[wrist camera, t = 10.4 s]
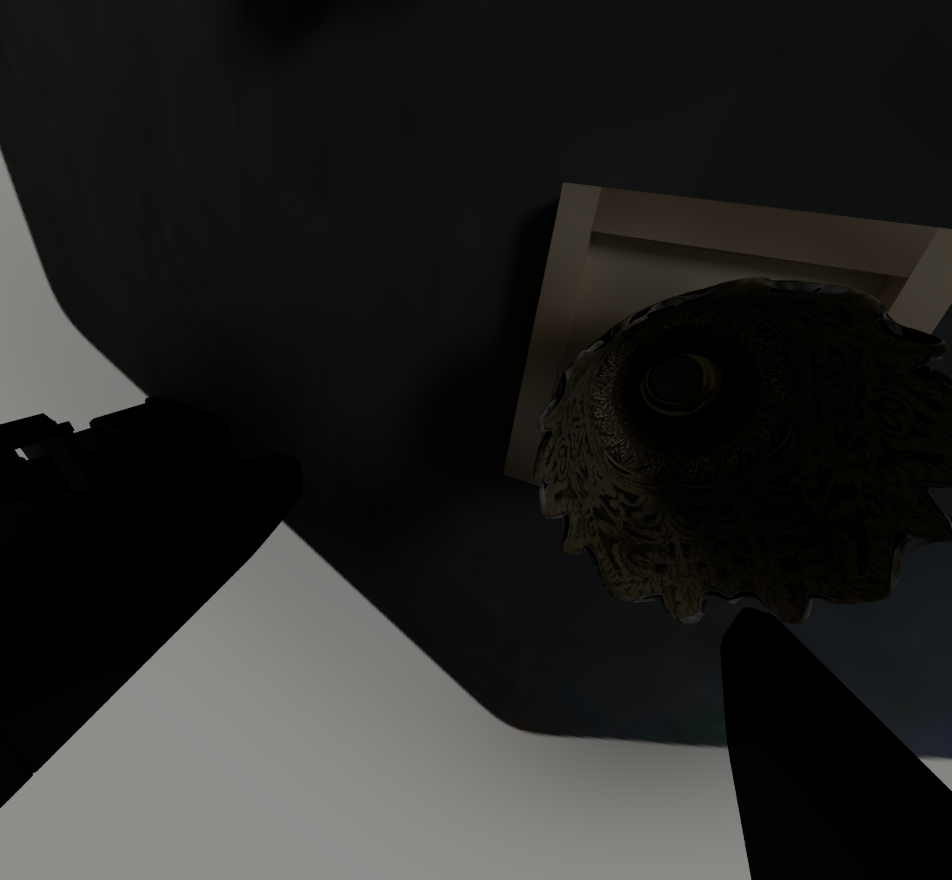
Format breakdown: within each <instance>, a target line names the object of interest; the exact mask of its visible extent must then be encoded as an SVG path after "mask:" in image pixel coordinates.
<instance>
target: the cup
mask: <svg viewBox="0 0 952 880" xmlns="http://www.w3.org/2000/svg"><path fill="white" fill-rule="evenodd" d="M888 311H889V307H888V306H887V305H885V304H884V303H883V302H881V301H880V300H878V299H877V298H875V297H874V296H872V295H870V294H868V293H866V292H864V291H861V290H859V289H856V288H851V287H846V286H840V285H834V284H826V283H817V282H807V281H798V280H771V279H770V278H768V277H751V278H743V279H737V280H732V281H727V282H722V283H719V284H717V285H714V286H710V287H707V288H704V289H699V290H695V291H691V292H687V293H684V294H681V295H678V296H674V297H671V298H668V299H665V300H662V301H660V302H658V303H655V304H653V305H651V306H648V307H646V308H644V309H640V310H638V311H636V312H635V313H633V314H631V315H630V316H628V317H626V318H625V319H623V320H622V321H620V322H619V323H617V324H616V325H615V326H613V327H612V328H610V329H609V330H608V331H607V332H606V333H605V334H603V335H602V336H601V337H600V338H599V339H597V340H596V341H595V342H593V343H592V344H591V345H589V346H588V347H587V348H586V349H584V350H583V351H582V352H581V353H580V354H579V355H577V356H576V357H575V358H574V359H573V360H572V362H571V363H570V364H569V365H568V366H567V367H566V369H565V370H564V372H563V373H562V375H561V378H560V380H559V383H558V387H557V389H556V392H555V394H554V396H553V398H552V399H551V400H550V402H549V403H548V404H547V405H546V406H545V408H544V410H543V411H542V413H541V415H540V417H539V419H538V425H537V427H538V430H539V431H542V433H543V431H545V432H544V435H543V437H542V438H541V440H540V442H539V444H538V449H537V457H536V461H535V465H534V470H533V479H534V481H535V483H536V484H537V483H538V485H539V484H541V486H540V489H539V508H540V512H541V514H542V516H543V517H545V518H562V517H563V518H564V519H563V525H564V530H563V536H562V551H563V552H564V553H566V554H567V555H569V556H571V557H572V556H574V555H575V556H582V555H584V553H585V552H586V554H587V555H588V556H589V557H590V558H591V560H592V563H593V565H594V569H595V572H596V574H597V576H598V578H599V579H600V581H601V583H602V584H603V586H604V587H605V588H606V590H607V591H608V592H609V593H610V595H611V596H612V597H613V598H614V599H616V600H619V601H624V602H633V603H635V602H645V601H650V600H660V601H661V604H662V606H663V608H664V610H665V612H666V613H667V614H668V615H669V616H671V617H672V618H673V619H675V620H676V621H678V622H679V623H681V624H683V625H692V624H694V623H696V622H698V621H699V620H700V618H701V617H702V616H703V615H705V614H706V613H704V612H705V611H706V610H707V609H708V608H707V606H706V605H707V604H708V603H709V602H708V600H710V599H711V598H708V599H706V600H704V601H703V604H702V607H701V602H702V600H703V598H704V597H710V596H712V597H715V596H716V597H719V598H721V599H723V600H725V601H727V602H729V603H732V604H734V603H735V602H737V601H738V600H740V599H746V598H740V597H754V598H757V599H758V600H759V601H760V602H761V603H762V604H763V605H764V606H765V607H766V608H767V610H768V612H769V613H770V614H772V615H773V616H775V617H776V618H777V619H778V620H779V621H780V622H784V623H789V624H794V625H796V624H802V623H803V622H804V621H805V620H806V619H807V618H808V616H809V614H810V611H811V607H812V599H816V600H822V601H826V602H829V603H833V604H838V605H849V604H861V603H868V602H874V601H883V600H886V599H887V598H889V597H891V595H892V594H893V592H894V590H895V589H896V586H897V583H898V580H899V576H900V572H901V568H902V565H903V559H902V555H903V550H904V547H905V545H906V543H907V541H908V542H910V541H911V539H912V538H910V539H907V538H906V536H907V535H910V536H912V537H913V538H915V539H923V540H925V541H926V543H918V544H916V545H915V546H919V545H924V544H925V545H929V544H936V543H940V544H942V543H945V542H952V518H951V517H950V516H949V514H948V513H946V511H945V510H944V509H943V508H942V507H941V506H940V505H939V504H938V503H937V502H936V500H935V499H934V498H933V495H932V494H931V493H930V492H929V490H928V488H931V487H932V488H933V487H934V488H935V487H936V488H952V381H951V379H950V377H948V376H947V375H945V374H943V373H941V372H938V371H936V370H932V369H930V368H929V367H927V366H926V364H929V363H931V361H932V360H934V359H941V358H942V356H943V355H944V354H946V353H947V352H949V345H948V344H947V343H946V342H945V341H943V340H941V339H939V338H937V337H935V336H933V335H930V334H928V333H925V332H922V331H919V330H916V329H913V328H909V327H905V326H903V325H900V324H898V323H896V322H895V321H894V320H893V319H892V318H891V317H890V316H889V315H888V313H887V312H888ZM671 358H686V359H688V360H691V361H692V362H694V363H695V364H696V365H697V367H698V368H699V370H700V374H701V381H700V384H699V387H698V388H697V390H696V391H695V392H694V393H693V394H692V395H691V396H689V397H688V398H686V399H683V400H679V401H668V400H664V399H662V398H660V397H659V396H658V395H657V394H656V393H655V392H654V390H653V388H652V385H651V378H652V374H653V372H654V370H655V369H656V368H657V366H658V365H659V364H661V363H662V362H664V361H666V360H668V359H671ZM926 484H927V485H928V484H929V485H928V486H926ZM925 545H924V546H925ZM583 549H584V550H585V552H584V551H582V550H583ZM738 598H739V599H738ZM701 610H702V613H700V611H701Z"/></svg>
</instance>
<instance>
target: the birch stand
mask: <svg viewBox="0 0 952 880" xmlns="http://www.w3.org/2000/svg"><path fill="white" fill-rule="evenodd" d="M751 277H768V278H770V279H771V280H798V281H807V282H817V283H826V284H834V285H840V286H846V287H851V288H856V289H859V290H861V291H864V292H866V293H868V294H870V295H872V296H874V297H875V298H877V299H878V300H880V301H881V302H883V303H884V304H885V305H887V306H888V307H889V311H888V312H887V313H888V315H889V316H890V317H891V318H892V319H893V320H894V321H895V322H896V323H898V324H900V325H903V326H905V327H909V328H913V329H916V330H919V331H922V332H925V333H928V334H930V335H931V333H932V332H933V330H934V329H935V327H936V326H937V324H938V323H939V321H940V320H941V318H942V317H943V315H944V314H945V312H946V311H947V309H948V308H949V306H950V305H951V303H952V229H944V228H936V227H928V226H919V225H911V224H903V223H895V222H886V221H878V220H870V219H861V218H853V217H845V216H837V215H828V214H820V213H812V212H803V211H795V210H787V209H779V208H770V207H762V206H754V205H745V204H737V203H729V202H721V201H712V200H704V199H696V198H687V197H679V196H671V195H662V194H654V193H646V192H638V191H629V190H621V189H613V188H604V187H596V186H588V185H580V184H571V183H563V187H562V192H561V196H560V201H559V206H558V211H557V216H556V221H555V225H554V230H553V235H552V240H551V245H550V250H549V255H548V259H547V264H546V269H545V274H544V279H543V284H542V288H541V293H540V298H539V303H538V308H537V313H536V317H535V322H534V327H533V332H532V337H531V342H530V346H529V351H528V356H527V361H526V366H525V371H524V375H523V380H522V385H521V390H520V395H519V400H518V405H517V409H516V414H515V419H514V424H513V429H512V434H511V438H510V443H509V448H508V453H507V458H506V463H505V467H504V472H503V475H505V476H508V477H511V478H515V479H518V480H521V481H524V482H528V483H531V484H534V485H537V486H541V484H539V485H538V483H537V484H536V483H535V481H534V479H533V470H534V465H535V461H536V457H537V449H538V444H539V442H540V440H541V438H542V437H543V435H544V432H545V431H543V433H542V431H539V430H538V427H537V425H538V419H539V417H540V415H541V413H542V411H543V410H544V408H545V406H546V405H547V404H548V403H549V402H550V400H551V399H552V398H553V396H554V394H555V392H556V389H557V387H558V383H559V380H560V378H561V375H562V373H563V372H564V370H565V369H566V367H567V366H568V365H569V364H570V363H571V362H572V360H573V359H574V358H575V357H576V356H577V355H579V354H580V353H581V352H582V351H583V350H584V349H586V348H587V347H588V346H589V345H591V344H592V343H593V342H595V341H596V340H597V339H599V338H600V337H601V336H602V335H603V334H605V333H606V332H607V331H608V330H609V329H610V328H612V327H613V326H615V325H616V324H617V323H619V322H620V321H622V320H623V319H625V318H626V317H628V316H630V315H631V314H633V313H635V312H636V311H638V310H640V309H644V308H646V307H648V306H651V305H653V304H655V303H658V302H660V301H662V300H665V299H668V298H671V297H674V296H678V295H681V294H684V293H687V292H691V291H695V290H699V289H704V288H707V287H710V286H714V285H717V284H719V283H722V282H727V281H732V280H737V279H743V278H751ZM700 381H701V374H700V370H699V368H698V367H697V365H696V364H695V363H694V362H692V361H691V360H688V359H686V358H671V359H668V360H666V361H664V362H662V363H661V364H659V365H658V366H657V368H656V369H655V370H654V372H653V374H652V378H651V385H652V388H653V390H654V392H655V393H656V394H657V395H658V396H659V397H660V398H662V399H664V400H668V401H679V400H683V399H686V398H688V397H689V396H691V395H692V394H693V393H694V392H695V391H696V390H697V388H698V387H699V384H700Z"/></svg>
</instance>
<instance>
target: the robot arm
mask: <svg viewBox="0 0 952 880" xmlns="http://www.w3.org/2000/svg"><path fill="white" fill-rule="evenodd" d="M89 424H90V427H91V428H89V429H86V430H83V431H79V432H76V433H73V431H74V428H73V427H72V425H71V424H70V422H69V421H68V422H64V423H60V424H57V423H56V422H55V421H53V420H52V419H50V418H49V417H48V416H46V415H45V414H44V413H42V414H38V415H35V416H31V417H27V418H23V419H19V420H15V421H12V422H8V423H4V424H0V808H1V807H2V806H3V805H4V804H5V803H6V802H7V801H8V800H9V799H10V798H11V797H12V796H13V795H14V794H15V793H16V792H17V791H18V790H19V789H20V788H21V787H22V786H23V785H24V784H25V783H26V782H27V781H28V780H29V779H30V778H31V777H32V776H33V773H35V772H37V771H38V770H39V769H40V768H41V767H42V765H44V764H45V763H46V762H47V761H48V760H49V759H50V758H51V757H52V755H54V754H55V753H56V752H57V751H58V750H59V749H60V748H61V747H62V746H63V745H64V744H65V743H66V742H67V741H68V740H69V739H70V738H71V737H72V736H73V735H74V734H75V733H76V731H78V730H79V729H80V728H81V727H82V726H83V725H84V724H85V723H86V722H87V721H88V720H89V719H90V718H91V717H92V716H93V715H94V714H95V713H96V711H98V710H99V709H100V708H101V707H102V706H103V705H104V704H105V703H106V702H107V701H108V700H109V699H110V698H111V696H113V694H115V693H116V692H117V691H118V690H119V689H120V688H121V687H122V686H123V685H124V684H125V683H126V682H127V681H128V680H129V679H130V678H131V677H132V676H133V675H134V674H135V673H136V672H137V671H138V670H139V669H140V668H141V667H142V666H143V665H144V664H145V663H146V662H147V661H148V660H149V659H150V658H151V657H152V656H153V655H154V654H155V653H156V652H157V651H158V650H159V649H160V648H161V647H162V646H163V645H164V644H165V643H166V642H167V641H168V640H169V639H170V638H171V637H172V636H173V635H174V634H175V632H177V631H178V630H179V629H180V628H181V627H182V626H183V625H184V624H185V623H186V622H187V621H188V620H189V619H190V618H191V617H192V616H193V615H194V614H195V613H196V612H197V611H198V610H199V609H200V608H201V607H202V606H203V604H205V603H206V602H207V601H208V600H209V599H210V598H211V597H212V596H213V595H214V594H215V593H216V592H217V591H218V590H219V589H220V588H221V587H222V586H223V585H224V584H225V583H226V582H227V581H228V580H229V579H230V578H231V577H232V576H233V575H234V574H235V573H236V571H238V570H239V569H240V568H241V567H242V566H243V565H244V564H245V563H246V562H247V561H248V560H249V558H251V557H252V556H253V555H254V553H255V552H256V551H257V550H258V549H259V548H260V547H261V545H262V544H263V543H264V542H265V541H266V539H267V538H268V537H269V536H270V535H271V533H272V532H273V531H274V530H275V529H276V527H277V526H278V525H279V524H280V523H281V521H282V520H283V519H284V518H285V516H286V515H287V514H288V513H289V512H290V510H291V509H292V508H293V507H294V506H295V504H296V503H297V502H298V501H299V499H300V497H301V494H302V478H301V465H300V463H299V461H298V460H297V459H295V458H292V457H289V456H286V455H283V454H278V455H273V456H267V457H261V458H256V459H250V460H245V461H239V462H234V463H233V458H232V452H231V446H230V440H229V434H228V427H227V424H226V422H225V421H224V420H223V419H221V418H219V417H216V416H213V415H210V414H207V413H204V412H201V411H198V410H195V409H192V408H190V407H187V406H184V405H181V404H178V403H175V402H172V401H169V400H166V399H162V398H159V397H156V396H152V397H149V398H146V399H145V403H144V404H141V405H138V406H134V407H131V408H128V409H124V410H121V411H117V412H114V413H111V414H107V415H104V416H101V417H97V418H94V419H93V420H91V422H90V423H89ZM18 448H21V449H22V451H23V452H24V454H25V455H26V456H27V458H28V459H29V460H26V459H25V458H23V457H19V456H18V454H17V453H16V451H15V449H18ZM720 652H721V666H722V681H723V695H724V709H725V723H726V734H727V744H728V751H729V757H730V763H731V768H732V774H733V780H734V785H735V791H736V797H737V802H738V807H739V813H740V819H741V824H742V830H743V835H744V840H745V847H746V852H747V857H748V863H749V869H750V874H751V880H952V791H951V790H950V789H949V788H948V787H947V786H946V785H945V784H944V783H943V782H942V781H941V780H940V779H939V778H938V777H937V776H936V775H935V774H934V773H933V772H932V771H931V770H930V769H929V768H928V767H927V766H926V765H925V764H924V763H923V762H922V761H921V760H920V759H919V758H918V757H917V756H916V755H915V754H914V753H913V752H912V751H911V750H910V749H909V748H908V747H907V746H906V745H904V744H903V743H902V742H901V741H900V740H899V739H898V738H897V737H896V736H895V735H894V734H893V733H892V732H891V731H890V730H889V729H888V728H887V727H886V726H885V725H884V724H883V723H882V722H881V721H880V720H879V719H878V718H877V717H876V716H875V715H874V714H873V713H872V712H871V711H870V710H869V709H868V708H867V707H866V706H865V705H864V704H863V703H862V702H861V701H860V700H859V699H858V698H857V697H856V696H855V695H854V694H853V693H852V692H851V691H850V690H849V689H848V688H847V687H846V686H845V685H844V684H843V683H842V682H841V681H840V680H839V679H838V678H837V677H836V676H835V675H834V674H833V673H832V672H831V671H830V670H829V669H828V668H827V667H826V666H825V665H824V664H823V663H822V662H821V661H820V660H819V659H818V658H817V657H816V656H815V655H814V654H813V653H812V652H811V651H810V650H809V649H808V648H807V647H805V646H804V645H803V644H802V643H801V642H800V641H799V640H798V639H797V638H796V637H795V636H794V635H793V634H792V633H791V632H790V631H789V630H788V629H787V628H786V627H785V626H784V625H783V624H782V623H781V622H780V621H779V620H778V619H777V618H776V617H775V616H773V615H772V614H769V613H767V612H763V611H760V610H757V609H754V608H751V607H745V608H743V609H741V611H740V612H739V613H738V615H737V616H736V618H735V619H734V621H733V622H732V624H731V625H730V627H729V628H728V630H727V632H726V633H725V635H724V636H723V639H722V642H721V648H720Z"/></svg>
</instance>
